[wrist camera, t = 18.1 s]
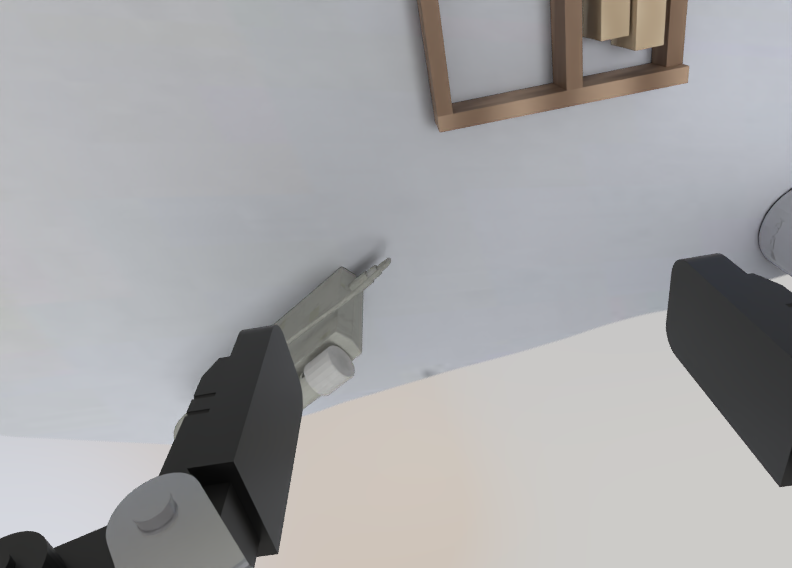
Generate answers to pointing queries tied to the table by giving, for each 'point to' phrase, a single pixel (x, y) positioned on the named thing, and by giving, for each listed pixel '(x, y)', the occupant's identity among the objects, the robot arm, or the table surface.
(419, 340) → the table surface
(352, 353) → the geiger counter
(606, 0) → the offcut stack
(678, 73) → the storage rack
